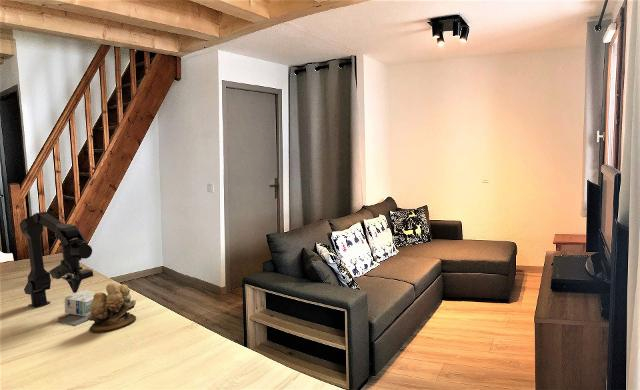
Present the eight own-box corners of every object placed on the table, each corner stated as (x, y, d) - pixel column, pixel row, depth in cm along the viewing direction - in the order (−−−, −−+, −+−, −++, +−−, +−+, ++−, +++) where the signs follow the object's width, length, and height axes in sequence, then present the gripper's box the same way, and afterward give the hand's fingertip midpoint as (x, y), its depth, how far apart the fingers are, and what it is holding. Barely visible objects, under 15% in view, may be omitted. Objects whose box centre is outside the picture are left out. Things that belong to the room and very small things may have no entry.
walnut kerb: (58, 320, 181) (57, 317, 181) (93, 306, 195) (93, 304, 195) (59, 320, 181) (59, 318, 181) (95, 306, 195) (95, 304, 195)
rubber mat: (58, 321, 180) (57, 320, 180) (98, 306, 195) (98, 305, 195) (75, 325, 174) (75, 324, 174) (115, 309, 190) (114, 308, 190)
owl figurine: (131, 314, 185) (127, 274, 182) (143, 321, 176) (140, 279, 174) (84, 328, 172) (80, 285, 170) (95, 336, 164) (91, 292, 162)
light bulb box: (64, 313, 185) (85, 317, 182) (63, 297, 184) (85, 301, 181) (83, 303, 195) (104, 307, 192) (83, 289, 194) (104, 292, 191)
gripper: (37, 259, 182) (42, 296, 184) (66, 263, 174) (70, 302, 175) (64, 252, 192) (68, 287, 194) (92, 256, 183) (96, 292, 185)
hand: (75, 292), depth 187 cm, fingers closed
